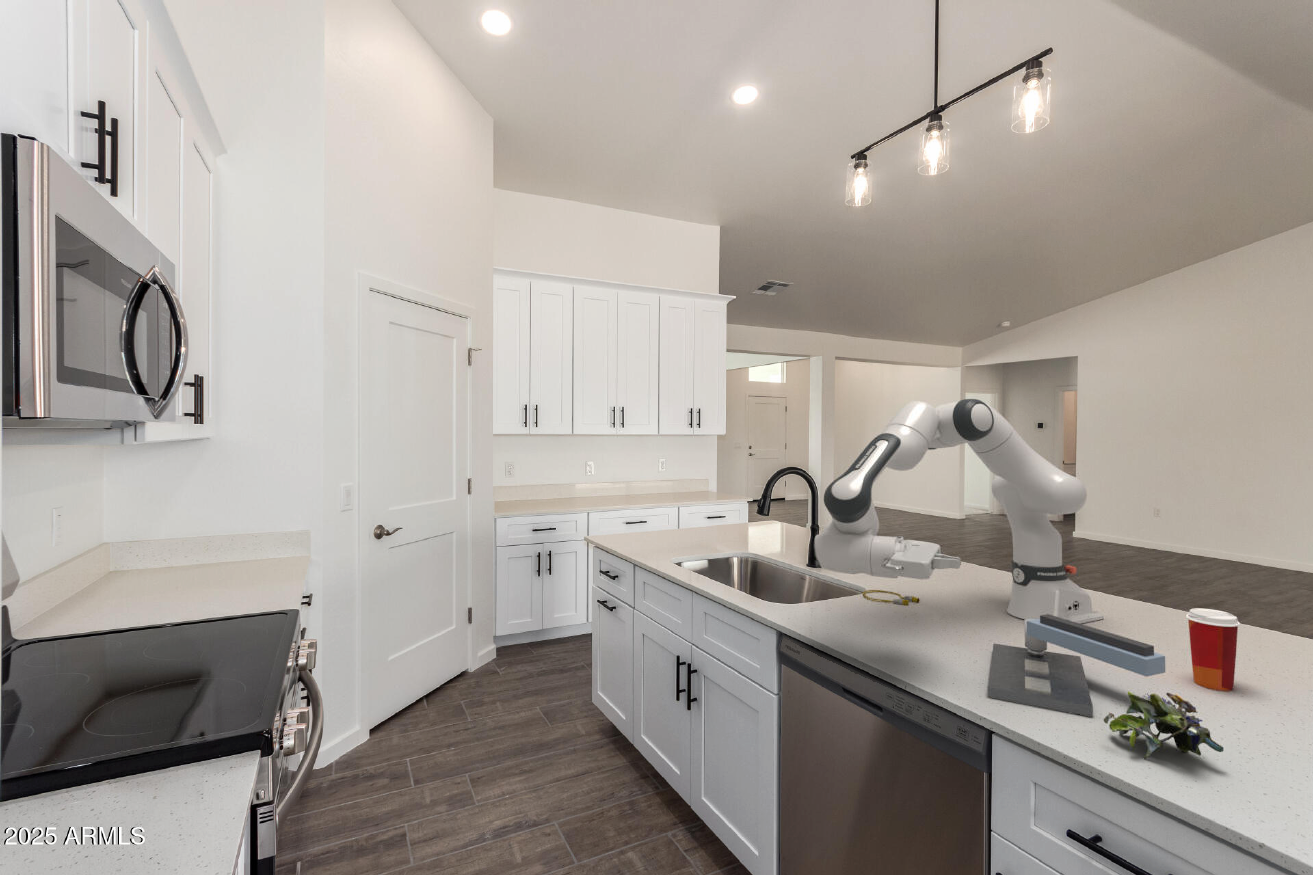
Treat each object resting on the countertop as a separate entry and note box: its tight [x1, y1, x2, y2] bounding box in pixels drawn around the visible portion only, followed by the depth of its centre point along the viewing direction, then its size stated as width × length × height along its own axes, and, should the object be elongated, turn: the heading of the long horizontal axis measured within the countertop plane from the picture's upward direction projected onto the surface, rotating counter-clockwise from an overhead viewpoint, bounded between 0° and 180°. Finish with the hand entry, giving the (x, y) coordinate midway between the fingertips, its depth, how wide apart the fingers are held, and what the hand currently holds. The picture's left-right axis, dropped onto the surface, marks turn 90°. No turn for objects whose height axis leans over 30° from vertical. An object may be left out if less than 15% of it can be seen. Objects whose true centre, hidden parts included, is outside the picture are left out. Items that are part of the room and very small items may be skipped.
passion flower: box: [1103, 690, 1224, 760], centre depth 92 cm, size 11×11×12 cm
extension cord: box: [862, 589, 921, 606], centre depth 177 cm, size 12×16×2 cm
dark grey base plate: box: [987, 643, 1094, 718], centre depth 118 cm, size 26×16×3 cm, turn 148°
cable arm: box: [1024, 614, 1166, 677], centre depth 117 cm, size 25×5×8 cm, turn 19°
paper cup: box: [1185, 607, 1241, 692], centre depth 115 cm, size 8×8×14 cm
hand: (960, 563), depth 120 cm, fingers closed
